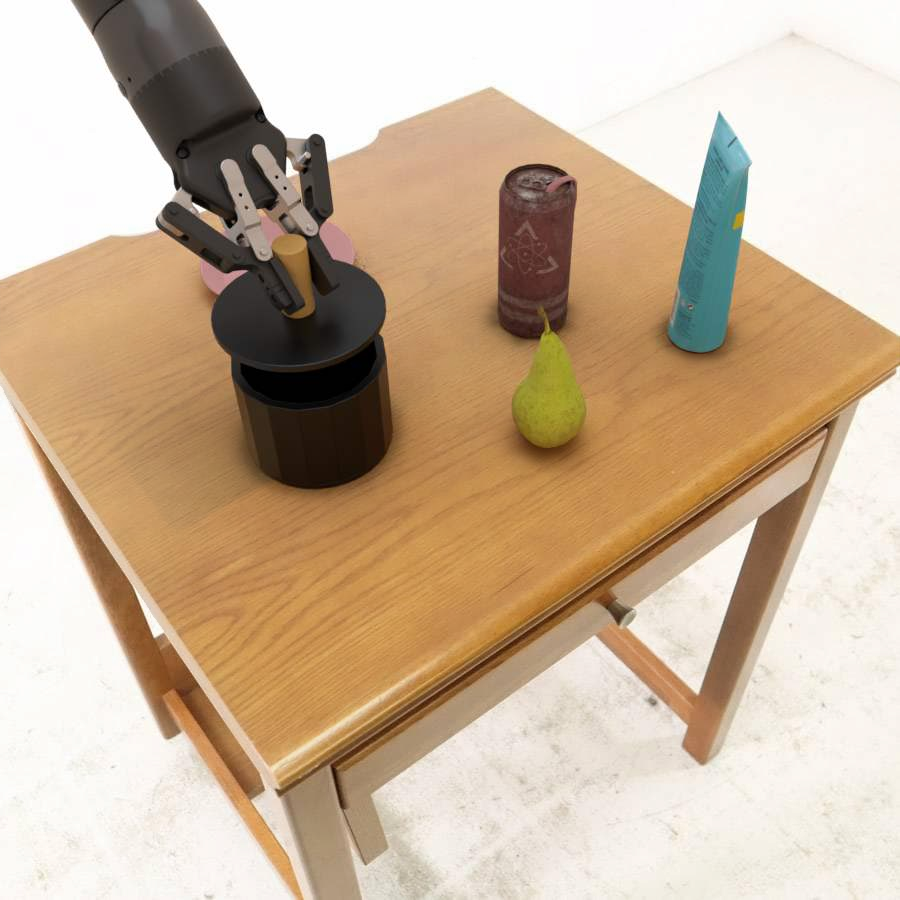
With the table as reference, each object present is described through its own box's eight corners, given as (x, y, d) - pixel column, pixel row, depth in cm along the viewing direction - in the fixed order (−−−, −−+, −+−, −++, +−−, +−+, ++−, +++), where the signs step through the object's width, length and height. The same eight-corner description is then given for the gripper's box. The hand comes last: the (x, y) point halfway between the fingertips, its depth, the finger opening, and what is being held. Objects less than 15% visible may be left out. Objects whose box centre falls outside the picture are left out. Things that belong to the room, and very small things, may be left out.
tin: (329, 511, 79) (316, 432, 73) (219, 449, 84) (198, 369, 78) (420, 422, 86) (415, 342, 80) (313, 369, 90) (301, 289, 84)
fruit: (567, 474, 81) (577, 356, 73) (498, 450, 83) (500, 333, 75) (594, 426, 85) (607, 308, 76) (528, 404, 87) (533, 287, 78)
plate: (177, 267, 101) (172, 250, 99) (306, 213, 107) (303, 196, 105) (251, 344, 93) (247, 326, 91) (386, 281, 99) (384, 264, 97)
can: (580, 328, 93) (592, 190, 83) (514, 347, 92) (518, 208, 82) (551, 289, 97) (559, 152, 87) (487, 306, 96) (487, 169, 86)
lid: (309, 404, 70) (296, 325, 65) (177, 335, 75) (156, 258, 71) (421, 307, 77) (417, 229, 72) (293, 250, 82) (282, 174, 78)
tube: (738, 357, 90) (784, 156, 76) (684, 367, 90) (721, 166, 76) (704, 304, 95) (742, 106, 81) (653, 313, 95) (682, 115, 81)
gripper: (97, 86, 64) (250, 335, 67) (280, 13, 71) (413, 242, 73) (75, 135, 70) (216, 359, 73) (244, 63, 77) (368, 272, 80)
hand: (314, 299), depth 73 cm, fingers closed on lid, 2 cm apart
